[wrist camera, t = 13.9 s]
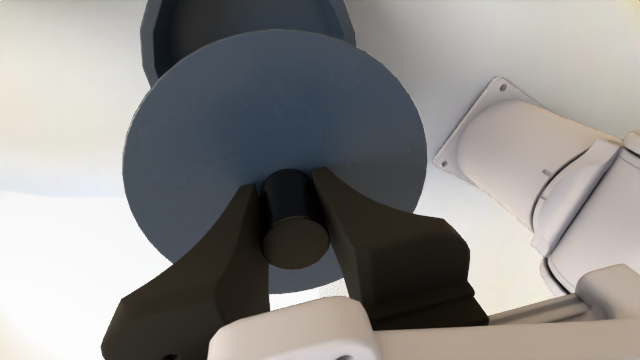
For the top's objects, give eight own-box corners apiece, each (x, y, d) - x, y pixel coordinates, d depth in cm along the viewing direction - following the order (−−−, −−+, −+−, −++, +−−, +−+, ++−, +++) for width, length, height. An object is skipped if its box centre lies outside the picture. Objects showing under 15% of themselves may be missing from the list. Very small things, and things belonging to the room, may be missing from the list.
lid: (470, 116, 14) (546, 158, 11) (334, 297, 19) (354, 372, 15) (188, -54, 10) (143, -88, 6) (101, 243, 14) (45, 332, 11)
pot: (397, -27, 19) (425, -32, 16) (279, 188, 25) (282, 215, 22) (215, -167, 15) (204, -211, 12) (127, 132, 21) (104, 156, 18)
